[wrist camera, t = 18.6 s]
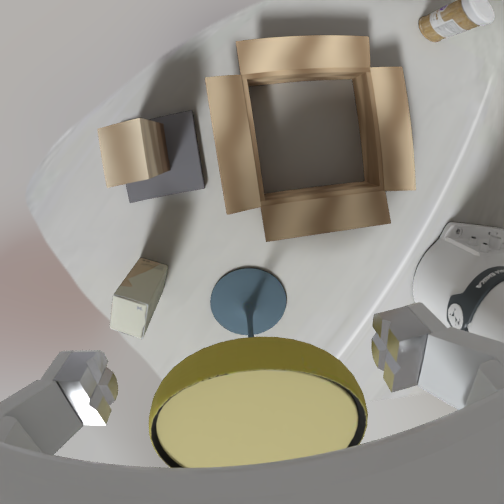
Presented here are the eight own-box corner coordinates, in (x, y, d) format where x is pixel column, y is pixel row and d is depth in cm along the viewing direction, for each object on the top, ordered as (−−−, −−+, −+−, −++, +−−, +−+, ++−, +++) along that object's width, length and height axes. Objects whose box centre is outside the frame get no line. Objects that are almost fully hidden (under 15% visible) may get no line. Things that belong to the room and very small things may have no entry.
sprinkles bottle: (421, 11, 31) (472, -16, 19) (444, 29, 32) (497, 8, 20) (414, 31, 33) (467, 5, 20) (437, 48, 34) (493, 30, 21)
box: (140, 256, 42) (112, 291, 32) (169, 265, 43) (149, 303, 32) (134, 288, 44) (108, 329, 33) (161, 297, 44) (142, 341, 34)
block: (163, 123, 36) (139, 117, 26) (170, 170, 38) (148, 179, 28) (129, 131, 36) (97, 129, 26) (136, 176, 38) (107, 187, 28)
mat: (192, 111, 36) (191, 110, 35) (204, 187, 40) (204, 188, 39) (118, 128, 36) (116, 128, 36) (132, 201, 40) (129, 203, 39)
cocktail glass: (270, 216, 41) (314, 316, 18) (330, 316, 47) (392, 445, 23) (160, 285, 44) (100, 417, 20) (231, 369, 49) (231, 506, 26)
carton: (375, 50, 34) (396, 38, 28) (394, 209, 42) (416, 220, 35) (205, 61, 34) (200, 46, 28) (233, 232, 42) (232, 247, 36)
